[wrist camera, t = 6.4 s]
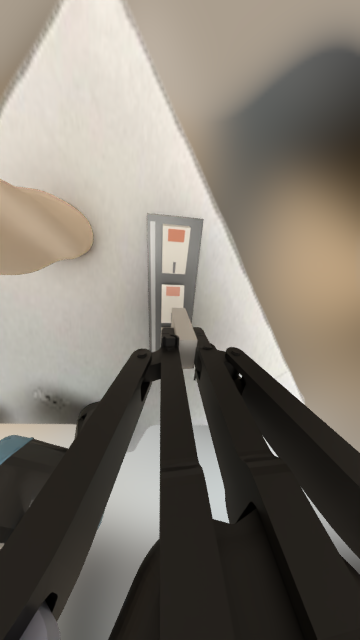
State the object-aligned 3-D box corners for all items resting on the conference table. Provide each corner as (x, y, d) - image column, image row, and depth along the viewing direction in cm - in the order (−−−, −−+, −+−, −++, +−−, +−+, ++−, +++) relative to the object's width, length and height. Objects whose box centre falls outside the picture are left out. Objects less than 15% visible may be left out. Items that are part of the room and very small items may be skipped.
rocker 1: (162, 269, 27) (162, 273, 26) (162, 223, 22) (162, 225, 21) (184, 270, 27) (185, 274, 26) (189, 226, 23) (190, 228, 21)
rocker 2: (161, 320, 29) (161, 323, 28) (161, 284, 28) (161, 284, 26) (181, 321, 30) (182, 323, 28) (183, 285, 28) (184, 285, 27)
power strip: (151, 372, 42) (150, 383, 39) (148, 217, 26) (146, 213, 23) (183, 372, 43) (184, 382, 40) (198, 222, 27) (203, 218, 24)
